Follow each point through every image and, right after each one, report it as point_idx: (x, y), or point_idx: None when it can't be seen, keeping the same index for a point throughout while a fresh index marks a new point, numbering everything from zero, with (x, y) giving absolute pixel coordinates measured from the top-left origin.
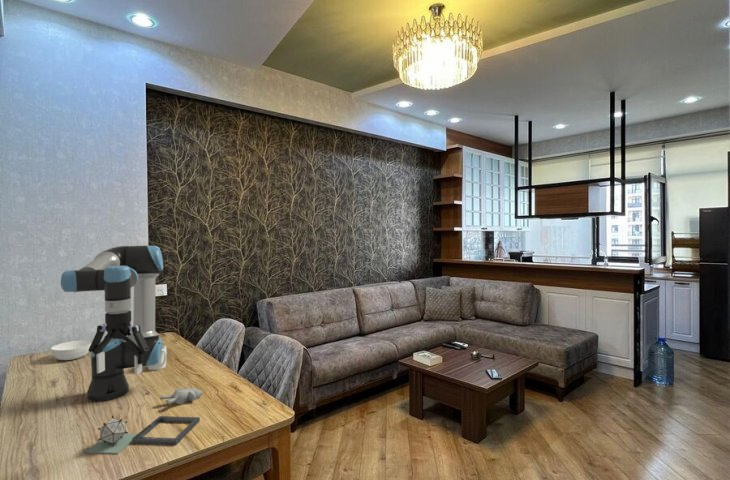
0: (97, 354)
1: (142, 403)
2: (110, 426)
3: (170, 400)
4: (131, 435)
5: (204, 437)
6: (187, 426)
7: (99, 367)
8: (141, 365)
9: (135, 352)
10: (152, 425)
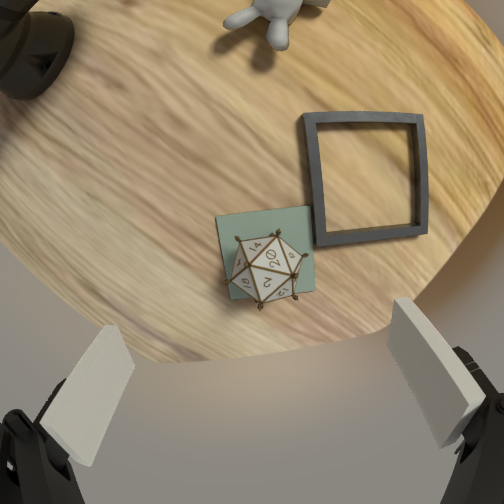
0: (82, 463)
1: (158, 43)
2: (276, 295)
3: (285, 39)
4: (288, 216)
5: (460, 192)
6: (421, 166)
7: (121, 388)
8: (430, 329)
9: (458, 466)
10: (320, 168)
